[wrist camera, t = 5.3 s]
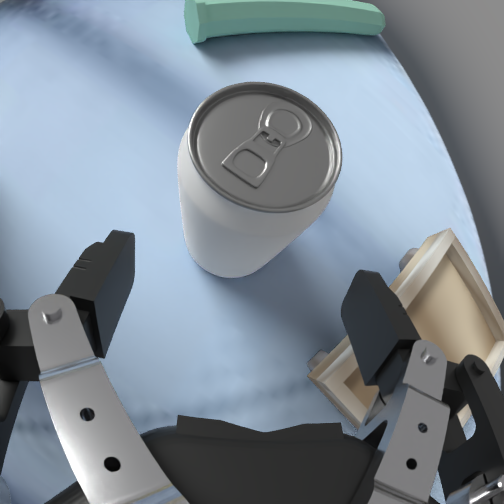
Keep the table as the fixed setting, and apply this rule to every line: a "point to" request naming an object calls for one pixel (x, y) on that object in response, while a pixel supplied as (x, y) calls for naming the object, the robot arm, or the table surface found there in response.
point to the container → (279, 17)
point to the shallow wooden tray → (423, 322)
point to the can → (253, 175)
